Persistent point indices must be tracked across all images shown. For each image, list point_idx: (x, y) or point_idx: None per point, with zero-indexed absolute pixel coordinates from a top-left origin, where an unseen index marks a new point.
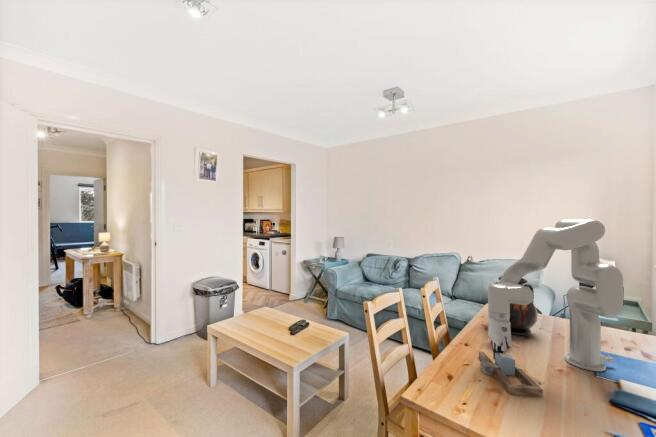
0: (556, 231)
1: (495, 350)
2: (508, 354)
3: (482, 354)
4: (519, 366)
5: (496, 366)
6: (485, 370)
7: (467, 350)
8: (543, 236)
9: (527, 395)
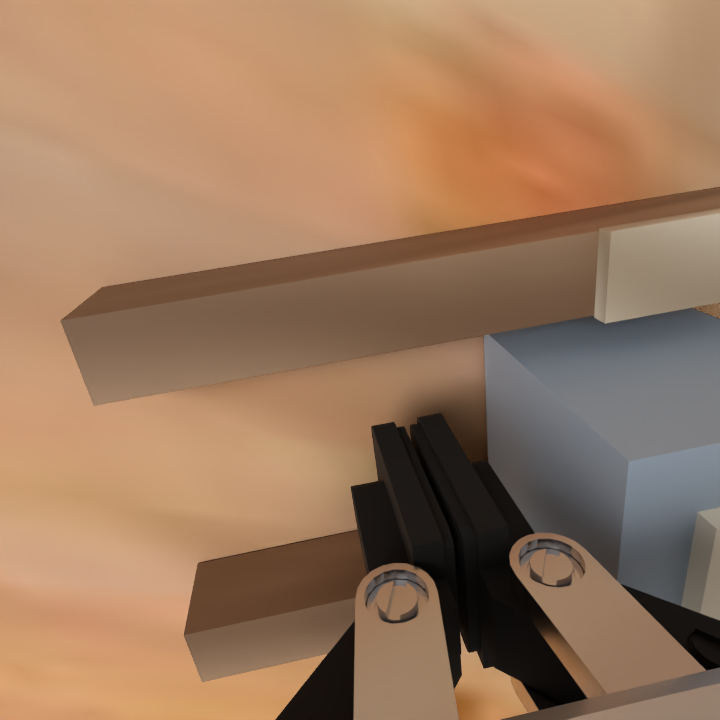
0: None
1: (489, 656)
2: (676, 469)
3: (304, 648)
4: (674, 225)
5: None
6: None
7: (59, 702)
8: None
9: None
